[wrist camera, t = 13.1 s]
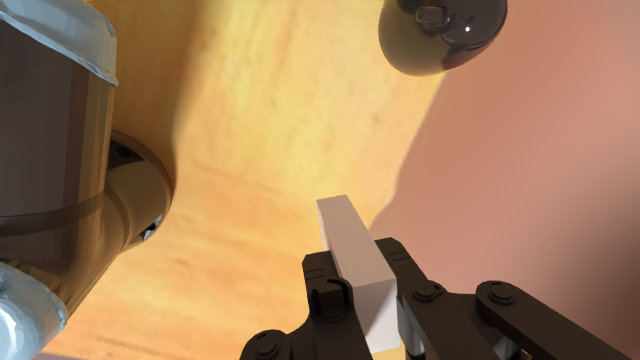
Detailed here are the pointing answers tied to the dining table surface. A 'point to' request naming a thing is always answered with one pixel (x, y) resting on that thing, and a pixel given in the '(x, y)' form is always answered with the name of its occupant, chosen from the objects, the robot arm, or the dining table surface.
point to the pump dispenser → (438, 32)
